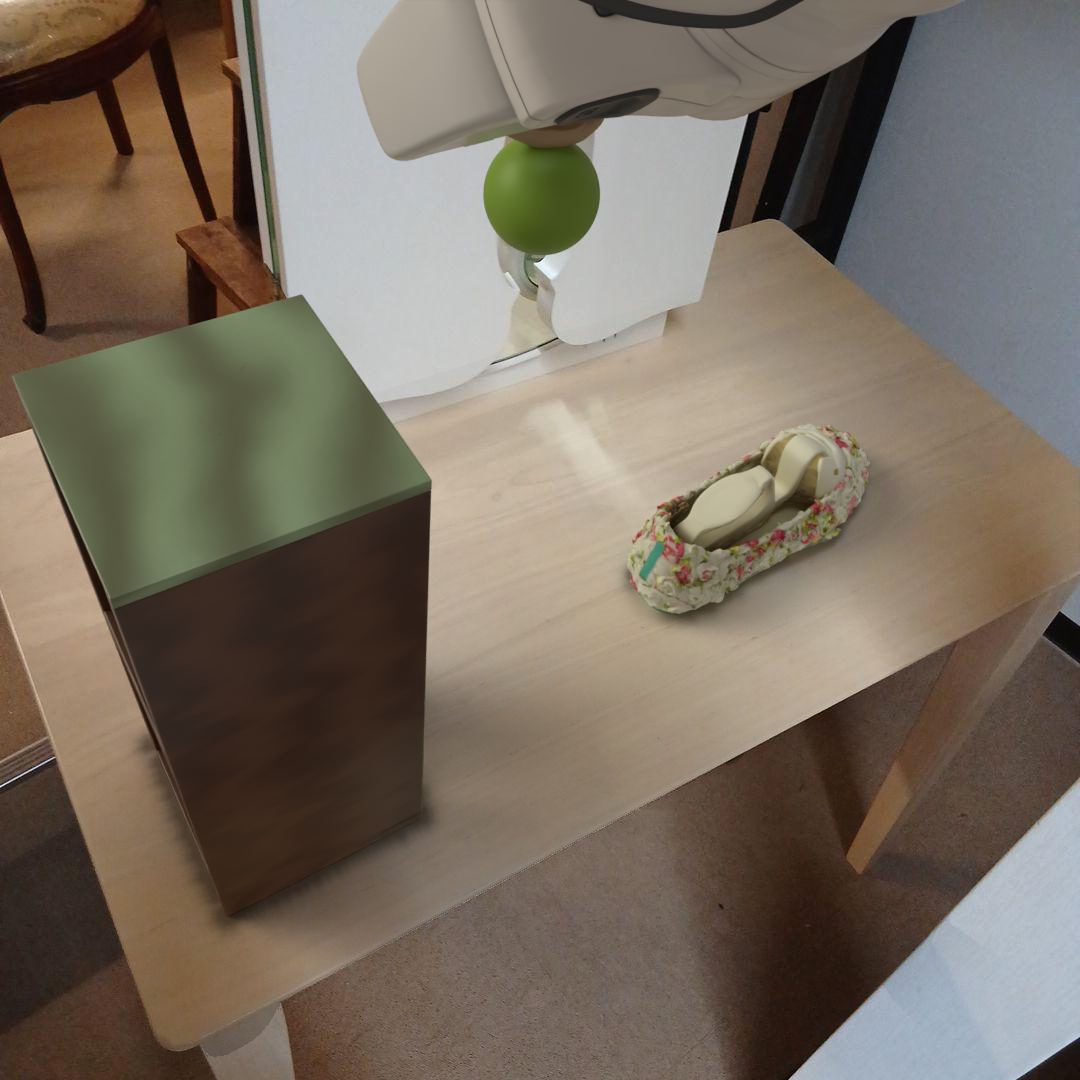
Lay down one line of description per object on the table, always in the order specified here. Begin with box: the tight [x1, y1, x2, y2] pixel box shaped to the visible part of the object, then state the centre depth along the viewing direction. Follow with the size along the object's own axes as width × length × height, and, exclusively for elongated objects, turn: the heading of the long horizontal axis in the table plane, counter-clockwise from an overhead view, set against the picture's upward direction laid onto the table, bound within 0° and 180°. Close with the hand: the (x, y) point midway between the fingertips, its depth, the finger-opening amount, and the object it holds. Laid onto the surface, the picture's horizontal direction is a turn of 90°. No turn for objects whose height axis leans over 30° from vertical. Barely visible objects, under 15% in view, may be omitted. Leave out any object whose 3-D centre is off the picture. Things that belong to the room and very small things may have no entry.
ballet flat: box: [625, 422, 871, 615], centre depth 77 cm, size 9×25×8 cm, turn 134°
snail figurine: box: [482, 119, 605, 256], centre depth 47 cm, size 5×6×12 cm
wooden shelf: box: [11, 294, 433, 917], centre depth 52 cm, size 12×12×30 cm
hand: (533, 110), depth 47 cm, fingers closed on snail figurine, 5 cm apart
